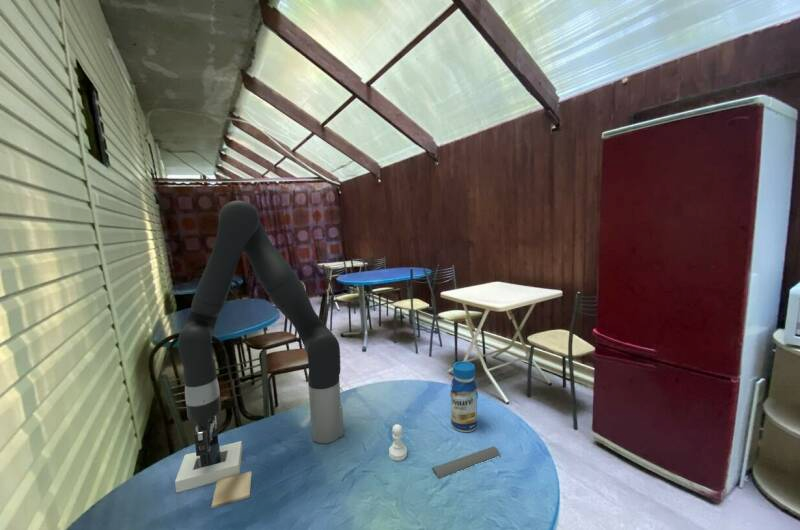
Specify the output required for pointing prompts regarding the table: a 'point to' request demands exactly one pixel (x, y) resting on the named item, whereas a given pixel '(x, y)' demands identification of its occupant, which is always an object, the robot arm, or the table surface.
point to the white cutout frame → (209, 468)
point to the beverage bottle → (464, 397)
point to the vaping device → (214, 449)
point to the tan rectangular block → (232, 489)
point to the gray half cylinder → (465, 462)
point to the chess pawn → (397, 445)
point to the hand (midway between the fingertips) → (209, 453)
